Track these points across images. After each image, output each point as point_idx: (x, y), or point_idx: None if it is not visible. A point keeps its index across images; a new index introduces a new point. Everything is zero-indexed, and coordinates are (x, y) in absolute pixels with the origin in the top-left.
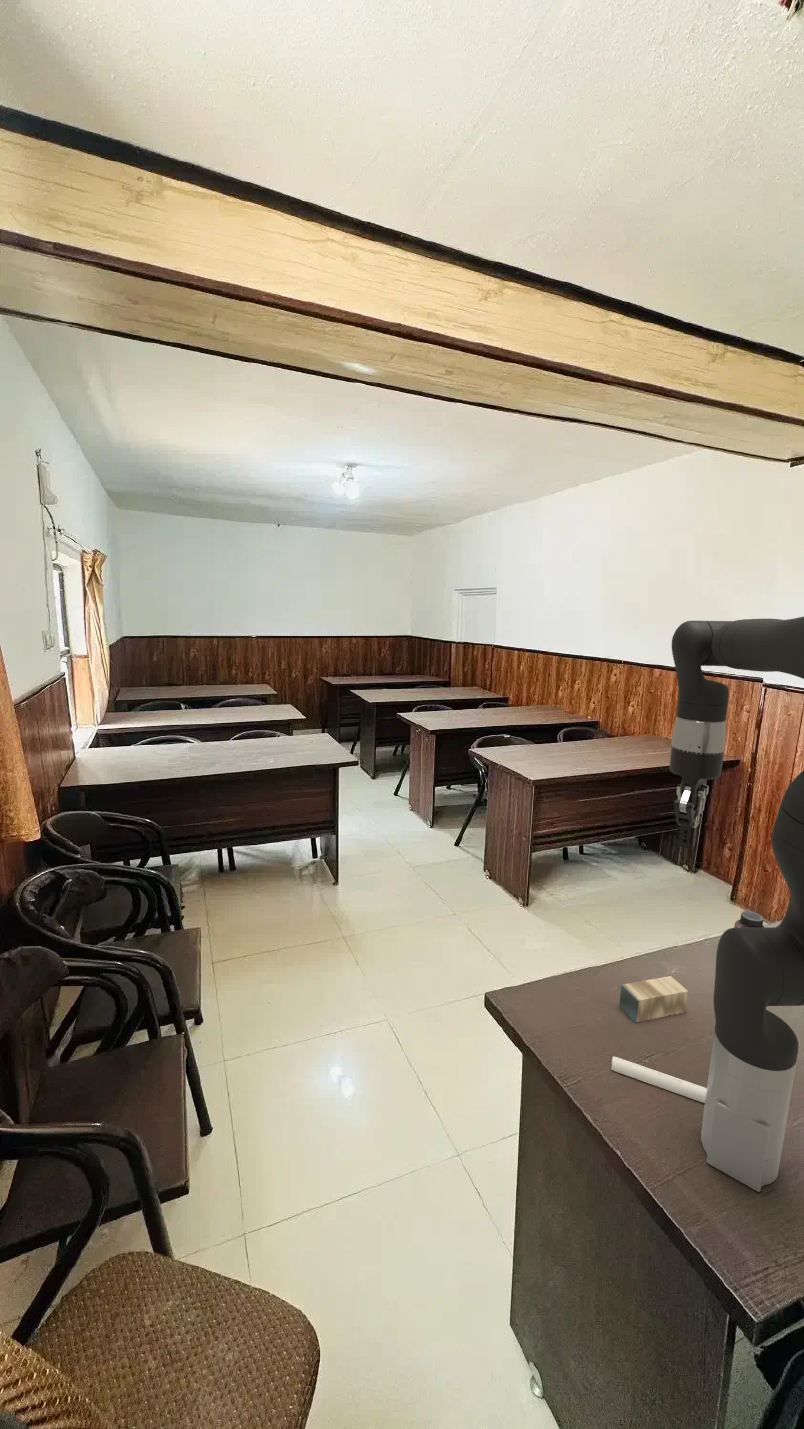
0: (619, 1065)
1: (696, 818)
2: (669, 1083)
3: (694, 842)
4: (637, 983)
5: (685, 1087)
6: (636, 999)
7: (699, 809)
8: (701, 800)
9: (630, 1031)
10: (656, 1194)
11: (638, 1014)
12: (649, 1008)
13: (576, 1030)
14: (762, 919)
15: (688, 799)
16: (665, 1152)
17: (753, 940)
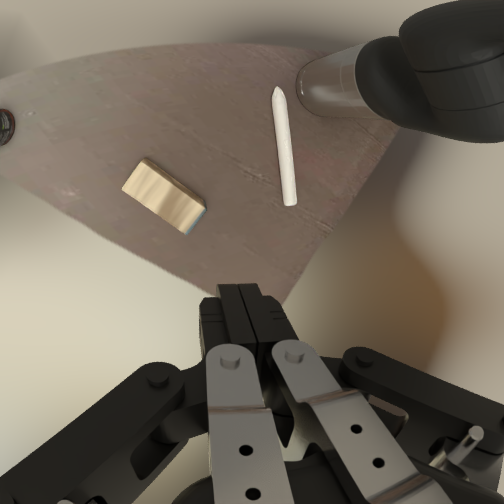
0: (295, 196)
1: (311, 382)
2: (291, 148)
3: (230, 291)
4: (169, 219)
5: (289, 134)
6: (205, 211)
7: (381, 422)
8: (421, 475)
9: (223, 201)
10: (388, 144)
11: (202, 201)
12: (189, 193)
13: (258, 248)
14: None
15: (492, 469)
16: (354, 142)
17: None
